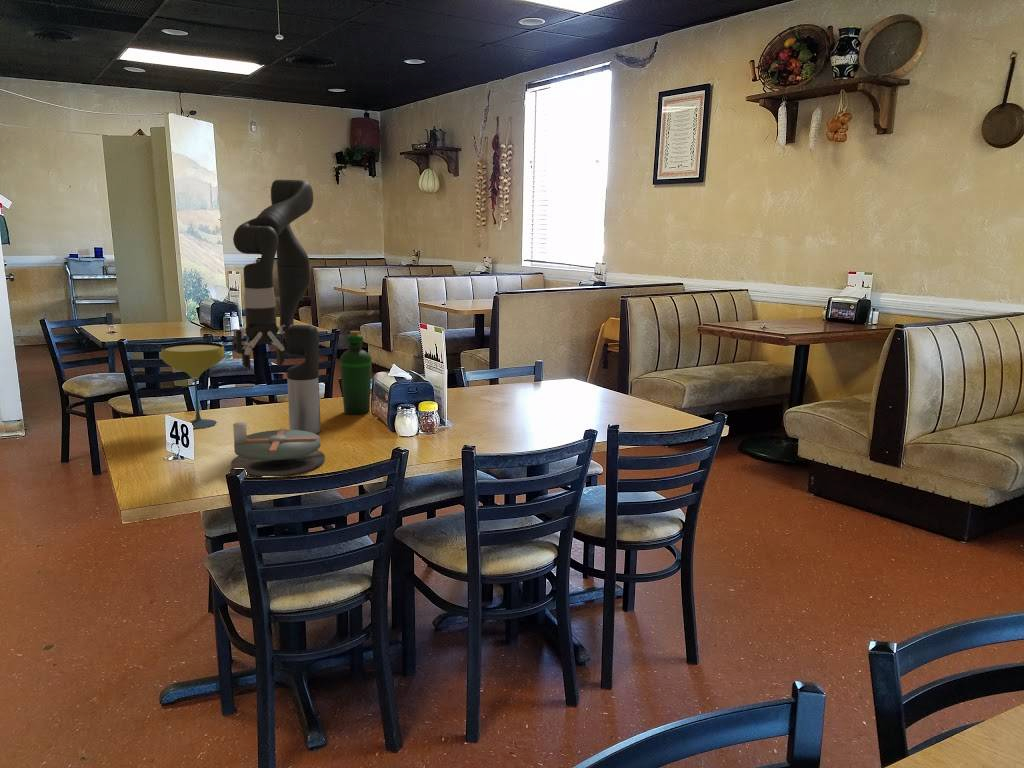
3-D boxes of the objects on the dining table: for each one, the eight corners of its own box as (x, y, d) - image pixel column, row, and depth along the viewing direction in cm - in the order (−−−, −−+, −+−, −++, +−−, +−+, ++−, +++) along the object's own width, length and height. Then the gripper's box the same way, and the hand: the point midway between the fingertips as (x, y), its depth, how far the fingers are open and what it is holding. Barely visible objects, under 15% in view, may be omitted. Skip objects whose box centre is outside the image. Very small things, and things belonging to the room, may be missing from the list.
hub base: (240, 450, 207) (239, 437, 206) (327, 448, 211) (327, 434, 210) (222, 479, 184) (221, 464, 183) (321, 475, 188) (320, 460, 187)
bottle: (370, 407, 258) (368, 328, 252) (374, 415, 249) (373, 333, 243) (339, 409, 255) (337, 329, 249) (342, 417, 245) (340, 334, 239)
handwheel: (323, 434, 209) (322, 411, 208) (316, 458, 188) (315, 433, 187) (242, 437, 205) (240, 413, 204) (226, 461, 184) (224, 435, 183)
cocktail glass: (239, 424, 234) (234, 347, 228) (183, 435, 220) (176, 353, 215) (212, 414, 245) (207, 340, 240) (157, 424, 232) (150, 346, 227)
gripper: (281, 301, 196) (284, 361, 199) (227, 305, 187) (231, 367, 191) (292, 304, 190) (295, 365, 194) (237, 308, 181) (241, 372, 185)
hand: (264, 366), depth 192 cm, fingers open, 8 cm apart
